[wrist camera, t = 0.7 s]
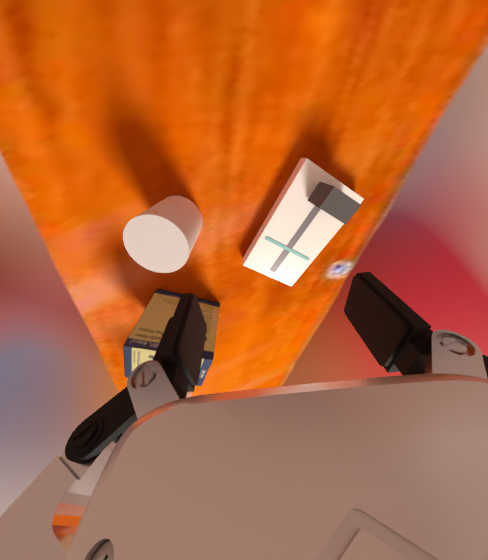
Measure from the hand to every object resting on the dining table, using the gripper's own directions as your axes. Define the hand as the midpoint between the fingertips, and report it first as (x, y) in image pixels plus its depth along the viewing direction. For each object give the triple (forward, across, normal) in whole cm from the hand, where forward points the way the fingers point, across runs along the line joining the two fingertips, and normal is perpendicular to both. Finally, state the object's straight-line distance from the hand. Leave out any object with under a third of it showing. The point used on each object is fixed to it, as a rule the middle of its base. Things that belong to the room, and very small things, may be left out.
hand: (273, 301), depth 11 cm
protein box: (+26, +19, +24) cm, 40 cm away
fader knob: (+22, -12, 0) cm, 26 cm away
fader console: (+26, -8, +6) cm, 28 cm away
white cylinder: (+26, +13, +1) cm, 29 cm away
